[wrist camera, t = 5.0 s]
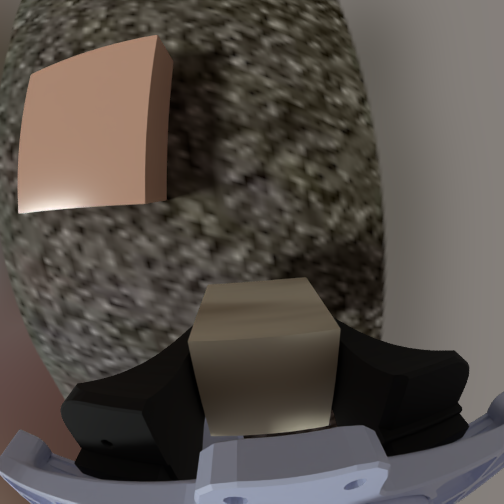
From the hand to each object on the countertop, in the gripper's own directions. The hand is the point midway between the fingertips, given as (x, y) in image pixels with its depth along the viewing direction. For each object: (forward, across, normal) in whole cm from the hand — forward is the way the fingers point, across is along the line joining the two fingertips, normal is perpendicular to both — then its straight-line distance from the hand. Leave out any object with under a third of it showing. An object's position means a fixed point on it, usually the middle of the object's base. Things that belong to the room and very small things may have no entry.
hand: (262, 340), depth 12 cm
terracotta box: (+6, +9, -11) cm, 15 cm away
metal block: (+1, 0, 0) cm, 1 cm away
